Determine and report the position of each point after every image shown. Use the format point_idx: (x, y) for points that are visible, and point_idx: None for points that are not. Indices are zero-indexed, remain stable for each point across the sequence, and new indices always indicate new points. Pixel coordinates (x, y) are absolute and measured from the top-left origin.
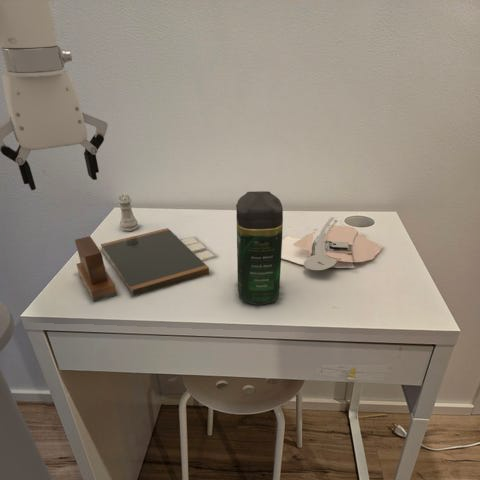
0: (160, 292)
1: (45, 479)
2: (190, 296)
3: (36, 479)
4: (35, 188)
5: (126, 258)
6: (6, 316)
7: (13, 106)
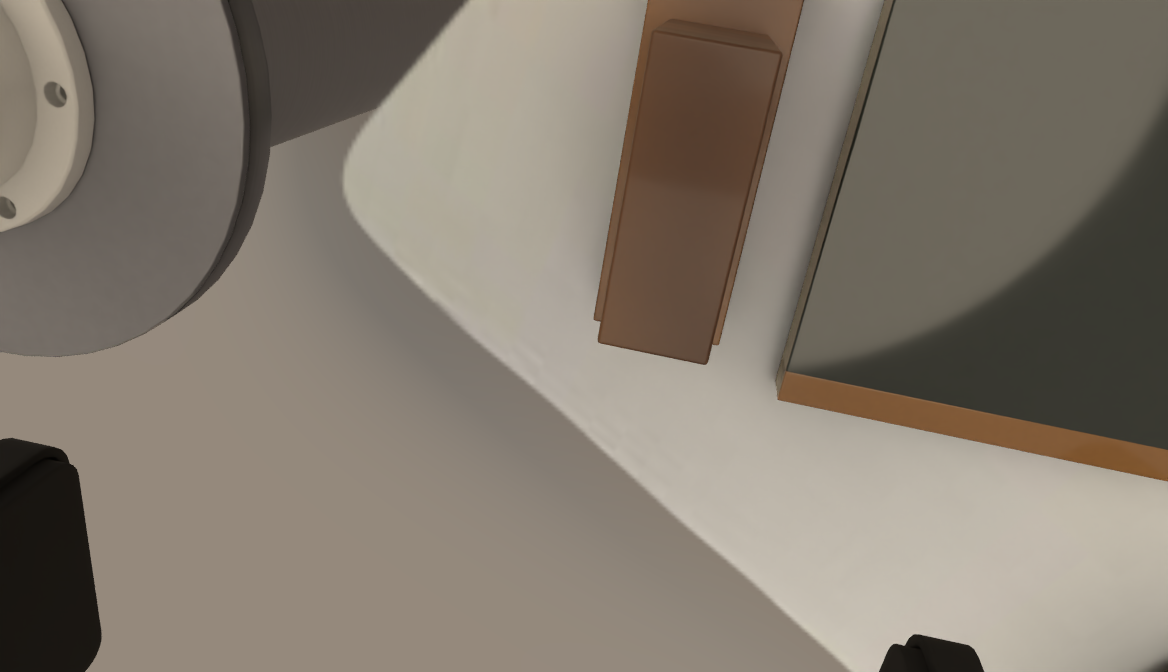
0: (895, 436)
1: None
2: (973, 549)
3: None
4: (91, 652)
5: (982, 53)
6: (225, 149)
7: None
